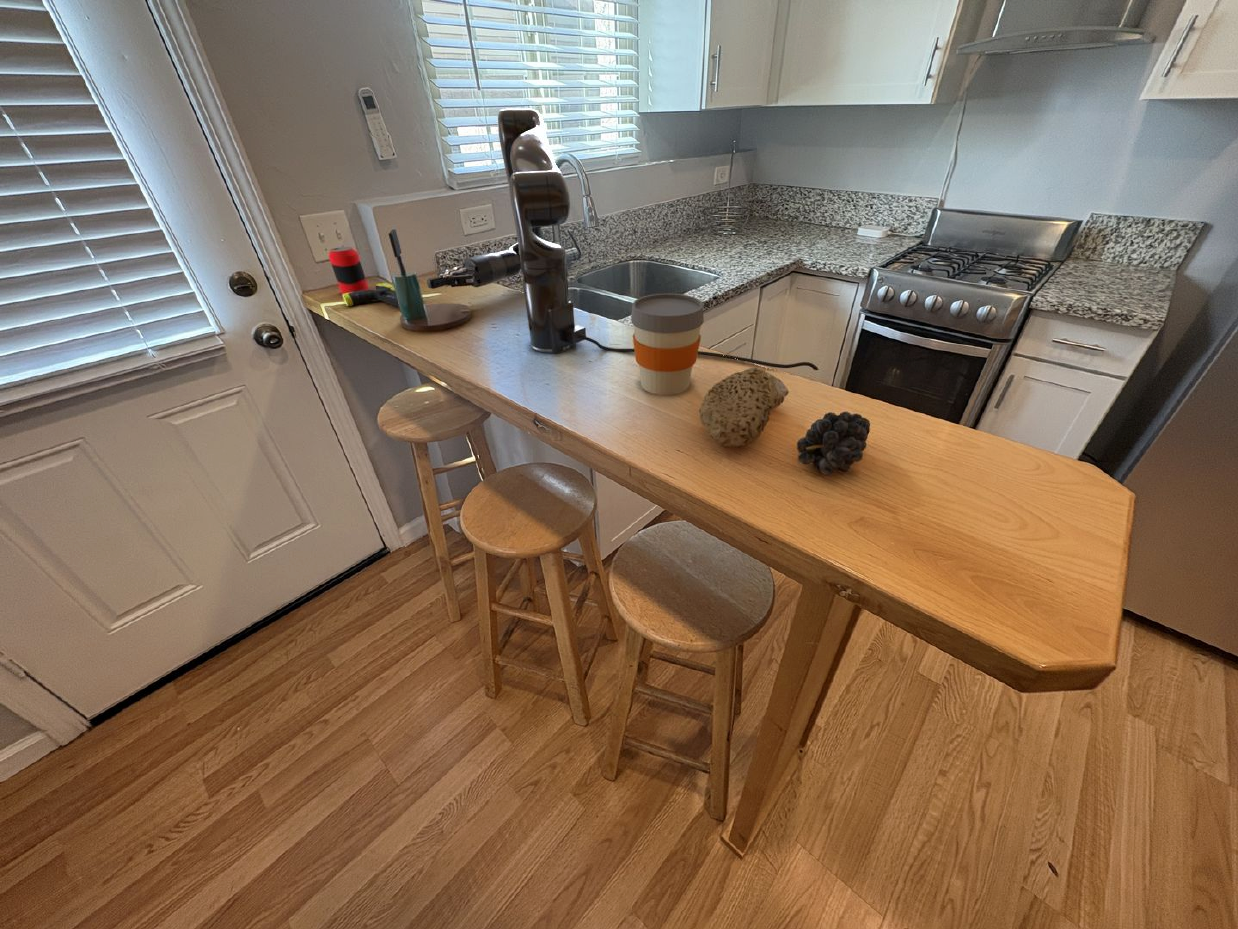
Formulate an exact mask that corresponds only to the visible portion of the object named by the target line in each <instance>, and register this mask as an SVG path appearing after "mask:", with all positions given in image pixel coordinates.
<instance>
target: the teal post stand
mask: <svg viewBox="0 0 1238 929" xmlns="http://www.w3.org/2000/svg"><path fill="white" fill-rule="evenodd" d="M398 237H399V236H398V233H397V230H396V229H391V231H390V232H389V233H388V238H389V242H390V244H391V248H392V252H393V256H394V258H396V261H397V265H398V269H399V271H396V272H393V273H391V274H390V278H391V282H392V285H393V286H394V290H395V293H396V297H397V300H398V304H399V307H400V308H399V307H398V308H399V311H400V314H401V315H400V316H399V322H400V325H401V326H402V327H403V328H405V329H406V330H411V331H418V332H419V331H420V332H427V331H431V332H432V331H438V330H446V329H450V328H454V327H458V326H460V325H462V324H464V323H466V322H467V321H469V320H470V319H471V317H472V311H471V309H470V307H469V306H467V305H465V304H461V303H454V302H442V303H440V302H439V303H431V304H425V300H424V297H423V293H422V289H421V286H420V281H419V278H418V273H417V271H415V270H406V268H405V265H404V264H405V263H404V261H403V256H402V255H401V254H402V248H401V245H400V241H399V238H398Z"/></svg>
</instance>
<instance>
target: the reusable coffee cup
mask: <svg viewBox="0 0 1238 929" xmlns="http://www.w3.org/2000/svg"><path fill="white" fill-rule="evenodd" d="M630 322H631V324H632V326H633V334H632V342H633V349H634V350H635V352H634V357H635V363H637V365H638V369H639V370H638V372H639V377H640V385H641V387H642V389H644V391H646V392H648V393H650V394H653V395H657V396H671V395H673V396H674V395H677V394H681V393H683V392H685V391H687V389H688V388H689V386H690V381H691V380H690V379H691V377H692V371H693V367H694V365H695V364H696V362H697V359H698V351H699V348H700V345H701V339H702V336H701V334H700V333H701V328H702V326H703V324H704V302H703V301H702V300H700V299H699V298H697V297H695V296H691V295H687V294H682V293H653V294H648V295H644V296H641V297H639V298H637V299H635V300H634V301H633V302H632V306H631V317H630Z"/></svg>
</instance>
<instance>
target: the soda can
mask: <svg viewBox="0 0 1238 929" xmlns="http://www.w3.org/2000/svg"><path fill="white" fill-rule="evenodd" d="M328 258H329V262H330V265H331V268H332V270H333V273H334V276H335V279H336V282H337V285H338V287H339V290H340V293H341V295H342V294H345V293H350V292H355V291H359V290H370V288H369V284H368V281H367V279H366V276H365V275H366V274H365V272H364V268H363V266H362V263H361V260H360V256H359V253H358V252H357V251H356V250H355V249H354V248H353V247H351V246H341V247H335V248H331V249H330V251H329V253H328Z"/></svg>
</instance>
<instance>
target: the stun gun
mask: <svg viewBox="0 0 1238 929" xmlns="http://www.w3.org/2000/svg"><path fill="white" fill-rule="evenodd" d="M341 296H342V299H343V301H344V303H345V305H346V306H347V307H351V306H355V305H356V306H357V305H360V304H364V303H365V304H366V303H370V302H375V301H381V302H384V303H386V304H388V305H390V306H393V307H397V308H399V309H400V307H399V304H398V300H397V297H396V293H395V290H394V286H393V284H391V283H388V282H380V283H376V284H375V289H369V290H359V291H355V292H350V293H345V294H342V293H341Z"/></svg>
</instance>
